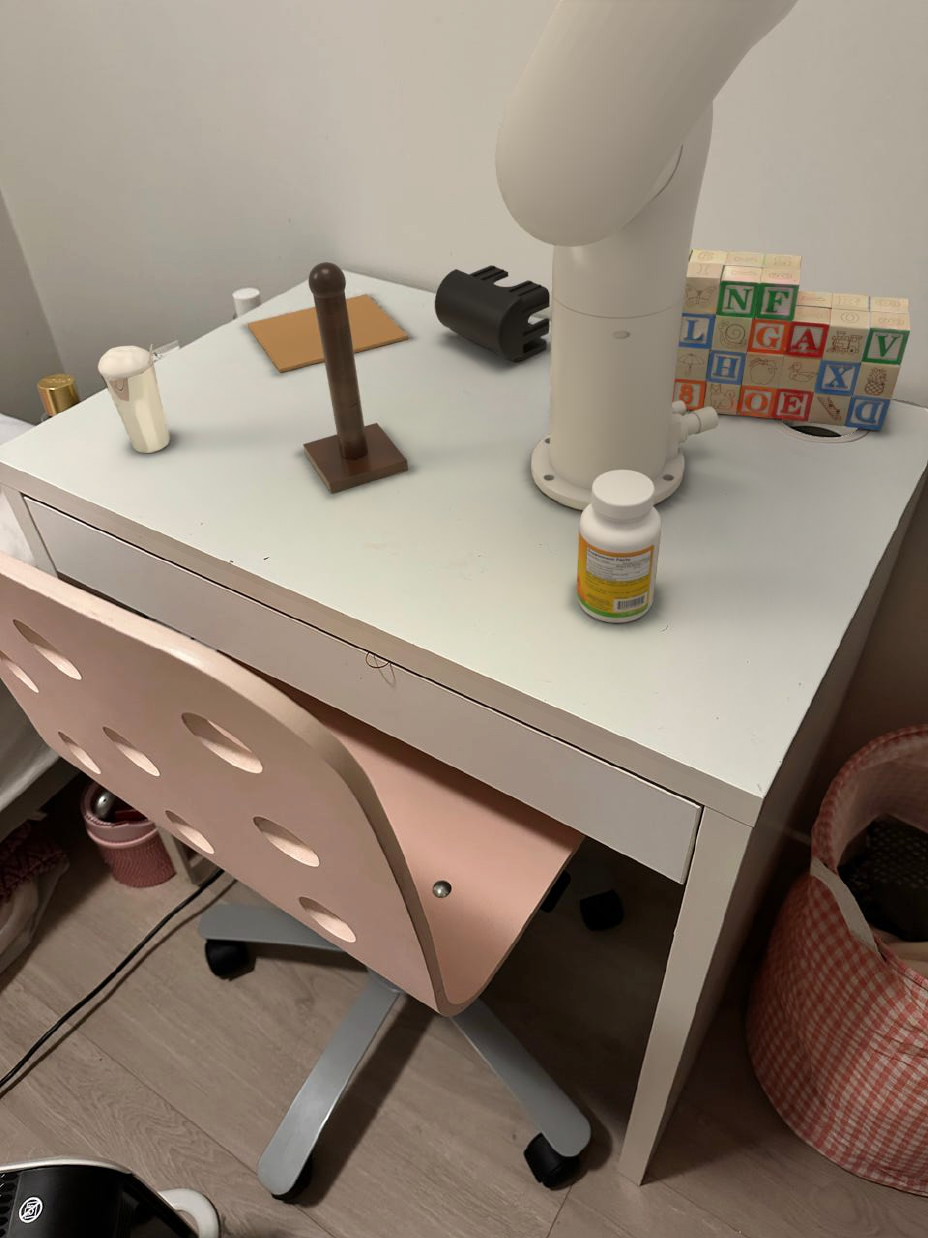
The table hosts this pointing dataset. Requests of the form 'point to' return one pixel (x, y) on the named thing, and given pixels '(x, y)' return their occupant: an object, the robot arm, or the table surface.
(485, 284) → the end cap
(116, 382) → the milkshake
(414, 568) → the table surface
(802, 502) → the table surface
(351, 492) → the table surface
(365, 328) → the desk pad
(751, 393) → the stack of blocks
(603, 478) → the supplement bottle
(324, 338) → the headphone stand
